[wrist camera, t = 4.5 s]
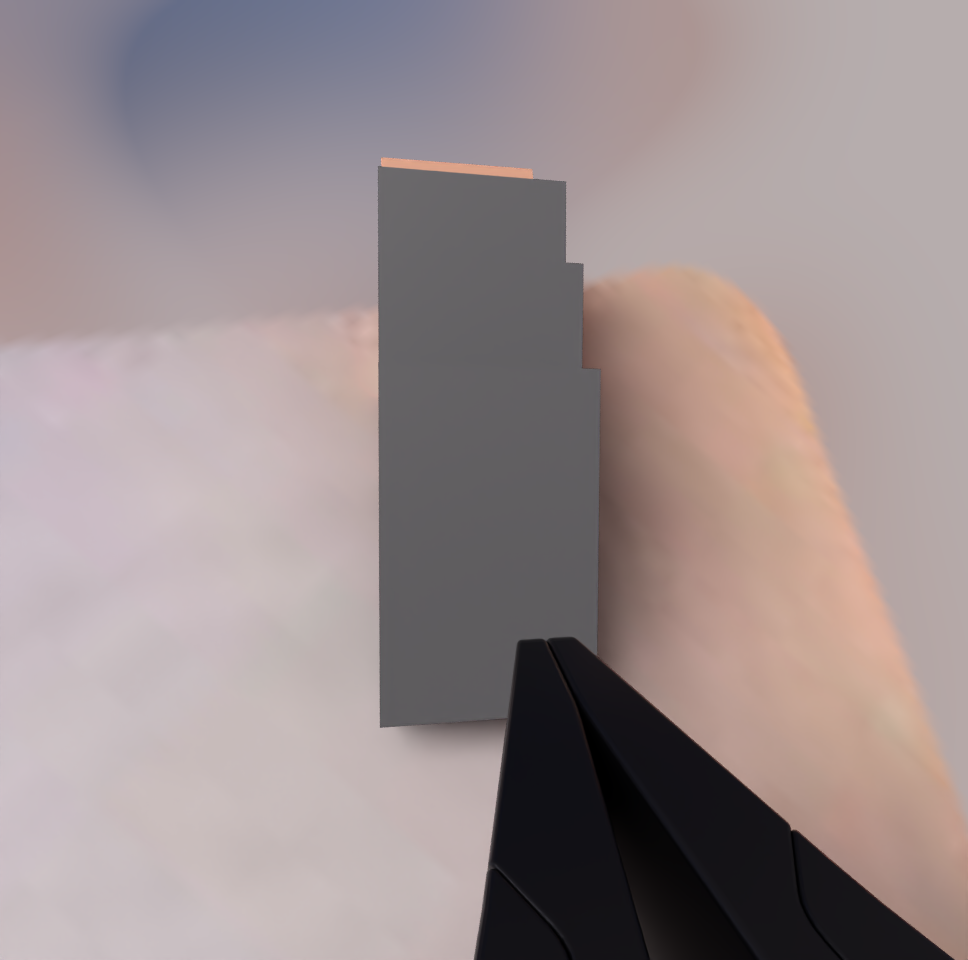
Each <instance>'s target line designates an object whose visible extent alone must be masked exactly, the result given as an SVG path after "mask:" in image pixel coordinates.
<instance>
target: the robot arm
mask: <svg viewBox="0 0 968 960" xmlns="http://www.w3.org/2000/svg"><path fill="white" fill-rule="evenodd" d="M474 960H955V959H953V958H952V957H951V956H949V955H948V954H947V953H945V952H944V951H943V950H942V949H940V948H939V947H938V946H937V945H935V944H934V943H933V942H931V941H930V940H929V939H928V938H926V937H925V936H924V935H923V934H921V933H920V932H919V931H917V930H916V929H915V928H914V927H912V926H911V925H910V924H909V923H907V922H906V921H905V920H903V919H902V918H901V917H900V916H898V915H897V914H896V913H895V912H893V911H892V910H891V909H890V908H888V907H887V906H886V905H884V904H883V903H882V902H881V901H880V900H878V899H877V898H876V897H875V896H874V895H872V894H871V893H870V892H869V891H868V890H866V889H865V888H864V887H863V886H862V885H861V884H859V883H858V882H857V881H856V880H855V879H853V878H852V877H851V876H850V875H849V874H847V873H846V872H845V871H844V870H843V869H841V868H840V867H839V866H838V865H837V864H836V863H834V862H833V861H832V860H831V859H830V858H828V857H827V856H826V855H825V854H824V853H823V852H822V851H820V850H819V849H818V848H817V847H816V846H815V845H813V844H812V843H811V842H810V841H809V840H808V839H807V838H805V837H804V836H803V835H802V834H801V833H800V832H799V831H797V830H792V831H791V827H790V825H789V823H788V822H787V821H786V820H784V819H783V818H782V817H781V816H780V815H779V814H778V813H776V812H775V811H774V810H773V809H772V808H771V807H769V806H768V805H767V804H766V803H765V802H764V801H763V800H761V799H760V798H759V797H758V796H757V795H756V794H755V793H753V792H752V791H751V790H750V789H749V788H748V787H747V786H745V785H744V784H743V783H742V782H741V781H740V780H739V779H737V778H736V777H735V776H734V775H733V774H732V773H730V772H729V771H728V770H727V769H726V768H725V767H724V766H722V765H721V764H720V763H719V762H718V761H717V760H716V759H714V758H713V757H712V756H711V755H710V754H709V753H708V752H706V751H705V750H704V749H703V748H702V747H701V746H699V745H698V744H697V743H696V742H695V741H694V740H693V739H691V738H690V737H689V736H688V735H687V734H686V733H685V732H683V731H682V730H681V729H680V728H679V727H678V726H677V725H675V724H674V723H673V722H672V721H671V720H670V719H669V718H667V717H666V716H665V715H664V714H663V713H662V712H660V711H659V710H658V709H657V708H656V707H655V706H654V705H652V704H651V703H650V702H649V701H648V700H647V699H646V698H644V697H643V696H642V695H641V694H640V693H639V692H638V691H636V690H635V689H634V688H633V687H632V686H631V685H629V684H628V683H627V682H626V681H625V680H624V679H623V678H621V677H620V676H619V675H618V674H617V673H616V672H615V671H613V670H612V669H611V668H610V667H609V666H608V665H607V664H605V663H604V662H603V661H602V660H601V659H600V658H598V657H597V656H596V655H595V654H594V653H593V652H592V651H590V650H589V649H588V648H587V647H586V646H585V645H584V644H582V643H581V642H580V641H579V640H578V639H576V638H574V637H554V638H549V639H547V640H544V639H542V638H538V639H522V640H519V641H518V642H517V646H516V654H515V661H514V669H513V677H512V684H511V692H510V700H509V708H508V715H507V723H506V731H505V738H504V746H503V754H502V762H501V769H500V777H499V785H498V792H497V800H496V808H495V815H494V823H493V831H492V839H491V846H490V854H489V862H488V871H487V874H486V882H485V890H484V897H483V905H482V912H481V918H480V925H479V931H478V937H477V943H476V949H475V955H474Z"/></svg>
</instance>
